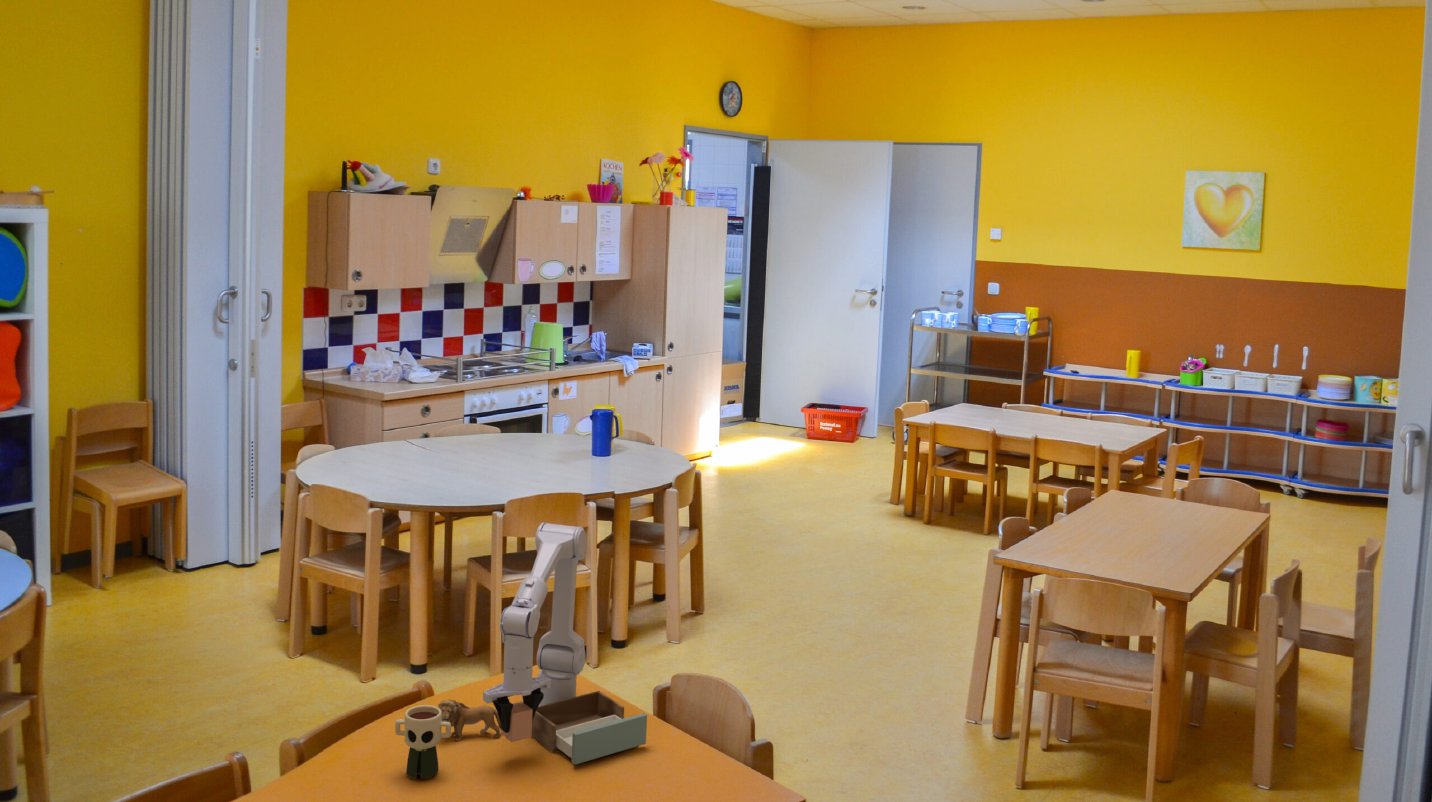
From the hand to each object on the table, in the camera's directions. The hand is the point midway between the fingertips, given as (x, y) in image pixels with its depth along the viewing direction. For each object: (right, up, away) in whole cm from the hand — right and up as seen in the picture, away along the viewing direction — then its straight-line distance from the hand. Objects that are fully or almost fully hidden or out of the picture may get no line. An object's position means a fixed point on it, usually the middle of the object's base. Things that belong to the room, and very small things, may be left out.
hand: (516, 727), depth 240 cm
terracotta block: (0, -2, 0) cm, 2 cm away
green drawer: (+15, -6, +8) cm, 19 cm away
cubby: (+10, -5, +15) cm, 19 cm away
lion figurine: (-12, -5, +11) cm, 16 cm away
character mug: (-18, -8, -6) cm, 20 cm away
